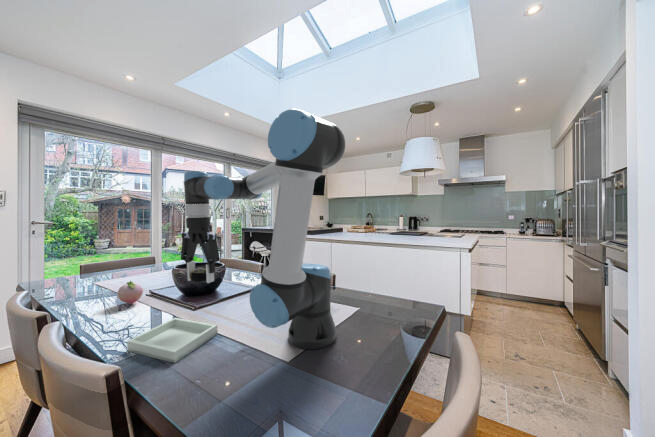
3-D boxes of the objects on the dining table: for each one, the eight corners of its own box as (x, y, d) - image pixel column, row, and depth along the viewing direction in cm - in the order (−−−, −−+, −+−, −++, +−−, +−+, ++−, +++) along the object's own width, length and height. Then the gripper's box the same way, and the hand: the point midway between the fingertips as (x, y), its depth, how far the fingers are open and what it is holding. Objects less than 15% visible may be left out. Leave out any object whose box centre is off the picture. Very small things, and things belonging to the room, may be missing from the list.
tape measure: (210, 283, 91) (209, 272, 91) (188, 284, 90) (187, 273, 89) (213, 277, 98) (212, 267, 98) (192, 278, 96) (192, 268, 96)
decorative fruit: (114, 305, 110) (113, 281, 110) (137, 298, 117) (136, 276, 116) (123, 310, 105) (121, 285, 104) (146, 303, 112) (145, 280, 111)
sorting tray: (217, 334, 86) (217, 325, 85) (174, 362, 70) (174, 352, 70) (175, 326, 91) (175, 317, 91) (127, 351, 76) (127, 341, 76)
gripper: (229, 216, 91) (232, 280, 93) (184, 215, 99) (187, 275, 100) (213, 217, 84) (216, 287, 86) (166, 217, 92) (170, 281, 93)
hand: (201, 280), depth 93 cm, fingers closed on tape measure, 8 cm apart
